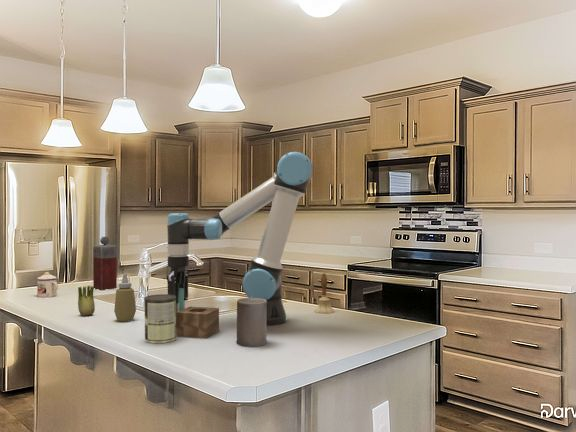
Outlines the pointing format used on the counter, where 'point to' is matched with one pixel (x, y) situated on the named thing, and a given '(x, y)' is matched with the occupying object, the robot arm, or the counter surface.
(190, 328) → the socket block
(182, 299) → the dowel
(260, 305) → the pillar candle
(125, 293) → the squeeze bottle
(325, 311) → the hand bell
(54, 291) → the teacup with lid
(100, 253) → the glass decanter
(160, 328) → the coffee can
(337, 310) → the counter surface
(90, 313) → the fennel bulb
